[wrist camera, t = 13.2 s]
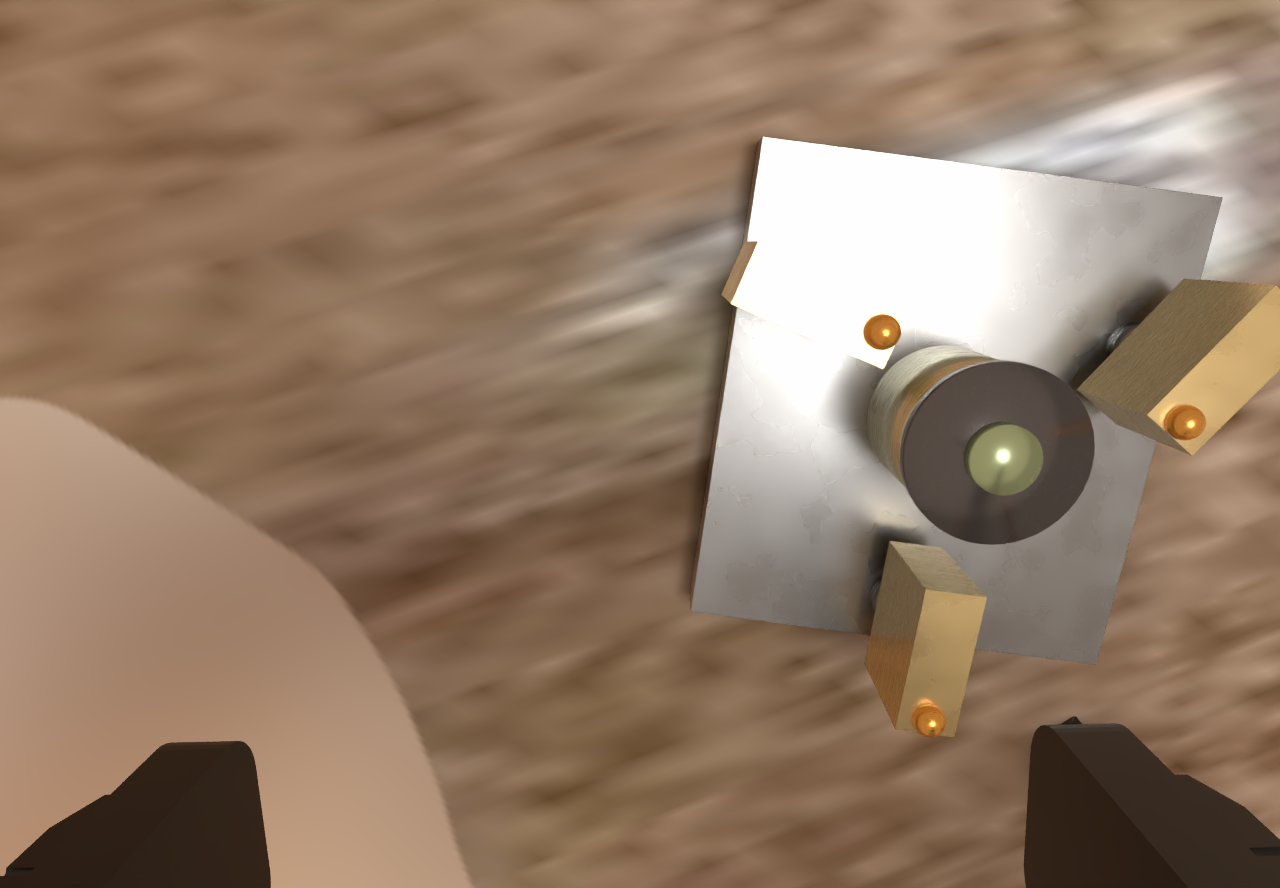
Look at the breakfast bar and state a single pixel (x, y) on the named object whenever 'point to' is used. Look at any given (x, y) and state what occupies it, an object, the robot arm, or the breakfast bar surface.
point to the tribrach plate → (958, 293)
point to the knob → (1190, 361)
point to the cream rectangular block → (815, 303)
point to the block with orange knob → (923, 637)
